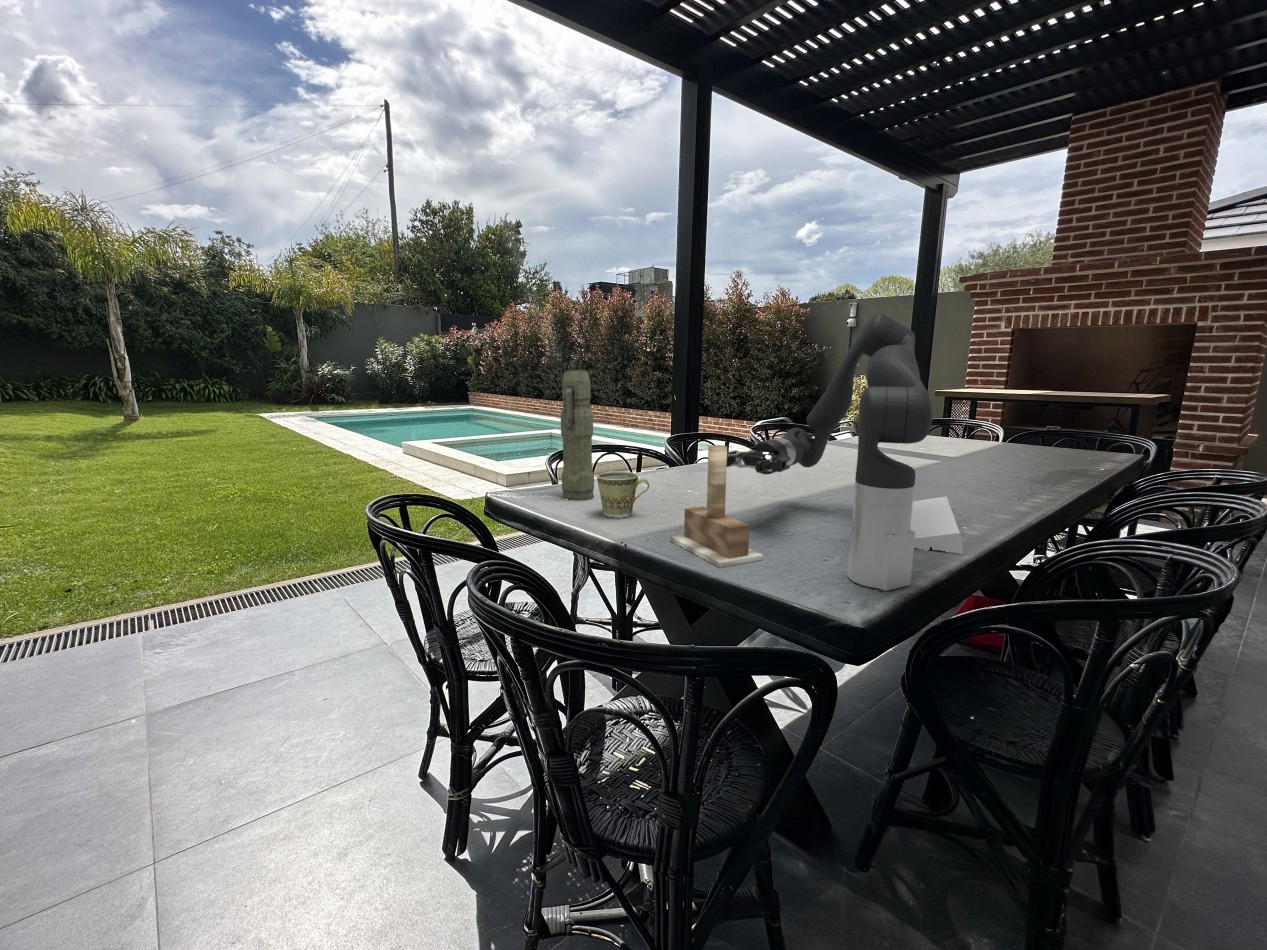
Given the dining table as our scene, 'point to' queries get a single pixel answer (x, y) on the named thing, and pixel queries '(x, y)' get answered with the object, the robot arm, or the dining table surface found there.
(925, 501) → the decorative molding
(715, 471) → the dowel
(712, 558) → the stand
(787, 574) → the dining table surface
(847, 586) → the dining table surface
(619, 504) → the ceramic cup
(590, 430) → the thermos
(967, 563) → the dining table surface
